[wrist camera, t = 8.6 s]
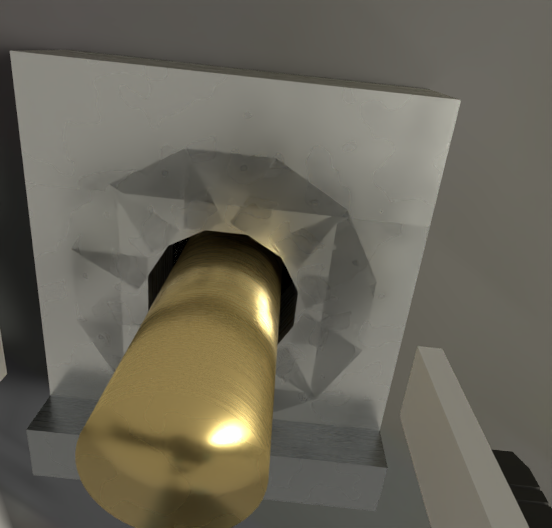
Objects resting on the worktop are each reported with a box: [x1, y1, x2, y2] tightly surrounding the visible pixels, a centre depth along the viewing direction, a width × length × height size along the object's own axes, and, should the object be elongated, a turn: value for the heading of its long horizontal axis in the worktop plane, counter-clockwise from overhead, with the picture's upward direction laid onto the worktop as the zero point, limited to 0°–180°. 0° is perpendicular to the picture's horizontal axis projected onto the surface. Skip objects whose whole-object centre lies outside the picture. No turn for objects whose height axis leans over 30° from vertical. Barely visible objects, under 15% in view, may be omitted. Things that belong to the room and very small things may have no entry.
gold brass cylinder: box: [75, 230, 283, 528], centre depth 16 cm, size 4×4×12 cm
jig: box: [10, 50, 461, 511], centre depth 19 cm, size 16×14×6 cm
